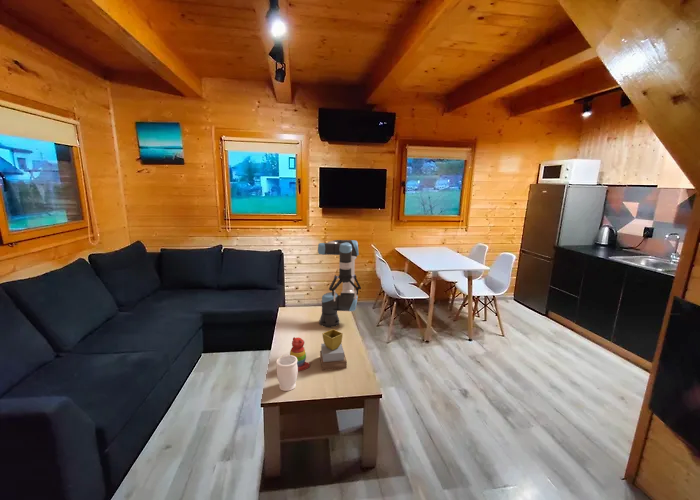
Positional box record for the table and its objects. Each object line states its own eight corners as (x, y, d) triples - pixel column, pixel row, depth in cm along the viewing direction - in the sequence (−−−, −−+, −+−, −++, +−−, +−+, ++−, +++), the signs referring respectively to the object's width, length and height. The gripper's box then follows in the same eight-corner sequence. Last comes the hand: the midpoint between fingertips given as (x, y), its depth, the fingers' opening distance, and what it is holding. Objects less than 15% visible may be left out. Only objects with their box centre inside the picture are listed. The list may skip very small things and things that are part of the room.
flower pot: (322, 347, 183) (321, 333, 182) (333, 342, 189) (333, 328, 188) (332, 353, 177) (332, 338, 175) (343, 347, 183) (343, 333, 182)
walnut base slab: (320, 358, 191) (320, 350, 190) (342, 356, 193) (342, 348, 192) (322, 371, 177) (322, 363, 176) (346, 369, 180) (346, 361, 178)
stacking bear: (311, 366, 181) (311, 337, 177) (297, 374, 173) (297, 344, 170) (299, 359, 188) (298, 332, 184) (285, 366, 180) (284, 338, 176)
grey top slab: (321, 351, 189) (321, 343, 188) (340, 349, 191) (340, 342, 190) (323, 362, 177) (323, 354, 176) (344, 360, 179) (344, 352, 178)
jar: (279, 394, 156) (278, 367, 153) (275, 382, 165) (274, 357, 162) (300, 389, 160) (299, 363, 157) (295, 378, 169) (294, 353, 166)
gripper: (326, 270, 189) (326, 303, 194) (366, 269, 193) (365, 301, 198) (324, 267, 196) (324, 298, 201) (363, 265, 201) (362, 296, 206)
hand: (344, 299), depth 200 cm, fingers open, 13 cm apart
